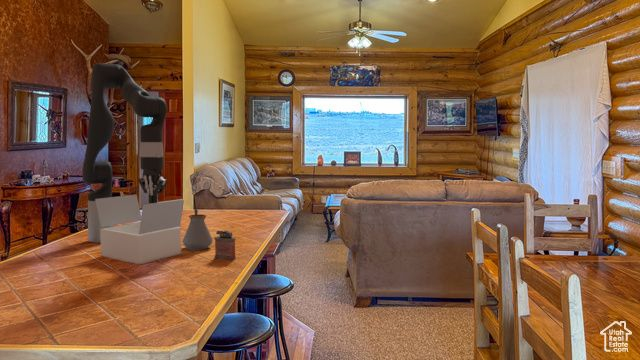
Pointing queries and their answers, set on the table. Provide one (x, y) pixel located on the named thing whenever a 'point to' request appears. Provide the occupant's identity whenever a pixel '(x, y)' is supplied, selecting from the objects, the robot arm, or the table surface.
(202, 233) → the coffee pot
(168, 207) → the flap
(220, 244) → the lighter
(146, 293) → the table surface
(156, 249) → the carton
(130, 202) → the flap
